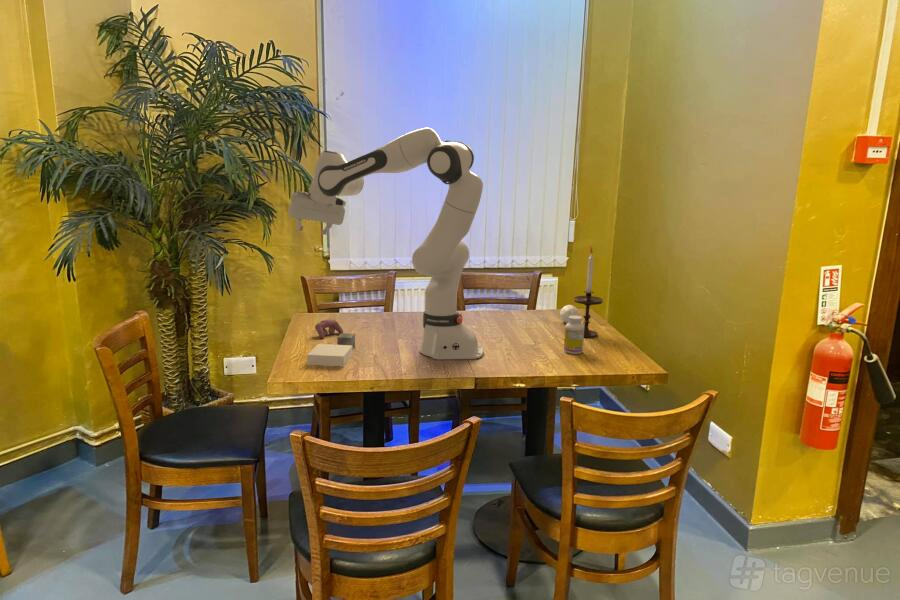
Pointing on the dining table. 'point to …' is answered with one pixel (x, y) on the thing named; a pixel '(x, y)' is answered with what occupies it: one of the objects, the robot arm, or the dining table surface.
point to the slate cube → (346, 339)
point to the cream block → (330, 355)
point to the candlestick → (588, 299)
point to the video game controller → (329, 323)
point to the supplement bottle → (574, 335)
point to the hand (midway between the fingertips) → (311, 232)
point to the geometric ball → (568, 312)
